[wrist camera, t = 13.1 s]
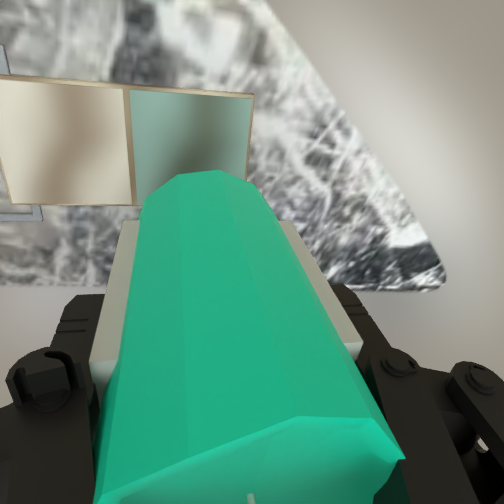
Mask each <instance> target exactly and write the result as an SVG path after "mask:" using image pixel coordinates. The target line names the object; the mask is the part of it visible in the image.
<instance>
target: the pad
mask: <svg viewBox="0 0 504 504" xmlns="http://www.w3.org/2000/svg"><path fill="white" fill-rule="evenodd" d="M0 74H5V75H10V72H9V67H8V63H7V58H6V54H5V50H4V45H0ZM31 208H32V212H33V213H0V221H43V217H42V213H41V208H40V205H31Z"/></svg>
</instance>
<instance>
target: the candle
mask: <svg viewBox="0 0 504 504" xmlns="http://www.w3.org/2000/svg"><path fill="white" fill-rule="evenodd" d="M137 220H140V224H139V230H138V236H137V243H136V249H135V255H134V261H133V268H132V274H131V280H130V287H129V293H128V299H127V305H126V312H125V318H124V324H123V330H122V337H121V343H120V349H119V356H118V361H117V363H116V365H115V367H114V370H113V372H112V374H111V377H110V379H109V381H108V384H107V386H106V388H105V390H104V393H103V397H102V402H101V408H100V413H99V419H98V424H97V429H96V435H95V440H94V446H93V449H94V457H95V494H94V500H93V504H373V498H374V494H375V493H377V492H378V491H379V490H380V488H381V487H382V486H383V485H384V484H385V483H386V482H387V480H388V479H389V477H390V475H391V473H392V471H393V469H394V467H395V465H396V463H397V461H398V459H406V458H405V456H404V454H403V452H402V450H401V448H400V447H399V445H398V443H397V441H396V439H395V437H394V435H393V433H392V432H391V430H390V428H389V426H388V424H387V422H386V420H385V418H384V416H383V415H382V413H381V411H380V409H379V407H378V405H377V403H376V401H375V400H374V398H373V396H372V394H371V392H370V390H369V388H368V387H367V385H366V383H365V381H364V379H363V377H362V375H361V374H360V372H359V370H358V368H357V366H356V364H355V362H354V361H353V359H352V357H351V355H350V353H349V351H348V349H347V348H346V346H345V345H344V344H343V342H342V340H341V338H340V336H339V335H338V333H337V331H336V329H335V327H334V325H333V323H332V321H331V320H330V318H329V316H328V314H327V312H326V310H325V308H324V306H323V305H322V303H321V301H320V299H319V297H318V295H317V293H316V291H315V290H314V288H313V286H312V284H311V282H310V280H309V278H308V277H307V275H306V273H305V271H304V269H303V267H302V265H301V263H300V262H299V260H298V258H297V256H296V254H295V252H294V250H293V248H292V247H291V245H290V243H289V241H288V239H287V237H286V235H285V233H284V232H283V230H282V228H281V226H280V224H279V222H278V219H277V217H276V215H275V213H274V212H273V210H272V209H271V208H270V206H269V205H268V203H267V202H266V200H265V199H264V198H263V196H262V195H261V193H260V192H259V191H258V189H257V188H256V186H255V185H254V184H252V183H249V182H247V181H245V180H242V179H240V178H237V177H235V176H233V175H230V174H228V173H225V172H223V171H221V170H211V171H203V172H194V173H186V174H178V175H176V176H175V177H173V178H172V179H171V180H169V181H168V182H167V183H165V184H164V185H163V186H161V187H160V188H158V189H157V190H156V191H154V192H153V193H152V194H150V195H149V196H147V197H146V198H145V201H144V204H143V206H142V209H141V211H140V214H139V217H138V219H137Z"/></svg>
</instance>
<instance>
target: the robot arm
mask: <svg viewBox="0 0 504 504" xmlns="http://www.w3.org/2000/svg"><path fill="white" fill-rule="evenodd" d="M278 222H279V224H280V226H281V228H282V230H283V232H284V233H285V235H286V237H287V239H288V241H289V243H290V245H291V247H292V248H293V250H294V252H295V254H296V256H297V258H298V260H299V262H300V263H301V265H302V267H303V269H304V271H305V273H306V275H307V277H308V278H309V280H310V282H311V284H312V286H313V288H314V290H315V291H316V293H317V295H318V297H319V299H320V301H321V303H322V305H323V306H324V308H325V310H326V312H327V314H328V316H329V318H330V320H331V321H332V323H333V325H334V327H335V329H336V331H337V333H338V335H339V336H340V338H341V340H342V342H343V344H344V345H345V346H346V348H347V349H348V351H349V353H350V355H351V357H352V359H353V361H354V362H355V364H356V366H357V368H358V370H359V372H360V374H361V375H362V377H363V379H364V381H365V383H366V385H367V387H368V388H369V390H370V392H371V394H372V396H373V398H374V400H375V401H376V403H377V405H378V407H379V409H380V411H381V413H382V415H383V416H384V418H385V420H386V422H387V424H388V426H389V428H390V430H391V432H392V433H393V435H394V437H395V439H396V441H397V443H398V445H399V447H400V448H401V450H402V452H403V454H404V456H405V458H406V459H398V461H397V463H396V465H395V467H394V469H393V471H392V473H391V475H390V477H389V479H388V480H387V482H386V483H385V484H384V485H383V486H382V487H381V488H380V490H379V491H378V492H377V493H375V494H374V498H373V504H504V381H503V380H502V379H501V378H500V377H498V376H497V375H496V374H495V373H494V372H493V371H491V370H489V369H488V368H486V367H484V366H482V365H479V364H476V363H473V362H466V361H462V362H459V363H456V364H455V366H454V367H453V369H452V370H451V372H450V373H447V372H442V371H437V370H432V369H427V368H422V367H420V366H419V365H418V363H417V362H416V361H415V360H414V359H413V358H412V357H411V356H410V355H408V354H407V353H405V352H403V351H401V350H399V349H395V348H392V347H391V346H390V344H389V343H388V341H387V340H386V338H385V337H384V335H383V334H382V333H381V331H380V330H379V328H378V327H377V325H376V324H375V322H374V321H373V319H372V318H371V316H370V315H368V312H367V310H366V309H365V307H364V306H362V303H361V302H360V300H359V298H358V297H357V295H356V294H355V293H354V292H353V291H351V290H350V289H349V288H347V287H346V286H345V285H344V284H340V285H329V283H328V282H327V280H326V278H325V277H324V275H323V273H322V272H321V270H320V268H319V267H318V265H317V263H316V262H315V260H314V258H313V257H312V255H311V253H310V252H309V250H308V248H307V247H306V245H305V243H304V242H303V240H302V238H301V237H300V235H299V233H298V232H297V230H296V228H295V227H294V225H293V223H292V222H291V221H278ZM139 224H140V220H123V223H122V228H121V232H120V236H119V240H118V244H117V248H116V252H115V256H114V260H113V264H112V269H111V273H110V277H109V281H108V285H107V289H106V293H105V294H88V295H76V296H75V297H74V298H73V299H72V300H71V301H70V302H69V303H68V304H67V305H66V306H65V308H64V311H63V313H62V316H61V319H60V323H59V324H58V327H57V329H56V334H55V335H54V337H53V340H52V343H51V345H50V347H44V348H41V349H39V350H36V351H33V352H30V353H29V354H27V355H26V356H24V357H22V358H21V359H19V360H18V361H17V362H16V363H15V364H14V365H13V366H12V368H11V369H10V370H9V372H8V375H7V377H6V380H5V381H6V383H7V386H8V389H9V391H10V394H11V396H12V399H13V401H14V402H13V403H11V404H10V405H7V406H5V407H2V408H0V504H93V500H94V494H95V457H94V449H93V446H94V440H95V435H96V429H97V424H98V419H99V413H100V408H101V402H102V397H103V393H104V390H105V388H106V386H107V384H108V381H109V379H110V377H111V374H112V372H113V370H114V367H115V365H116V363H117V361H118V356H119V349H120V343H121V337H122V330H123V324H124V318H125V312H126V305H127V299H128V293H129V287H130V280H131V274H132V268H133V261H134V255H135V249H136V243H137V236H138V230H139ZM480 438H481V439H482V440H483V442H484V443H485V444H486V446H487V447H488V448H489V449H488V451H486V450H484V449H483V448H482V447H481V446H480V445H479V444H478V440H479V439H480Z"/></svg>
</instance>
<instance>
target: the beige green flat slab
mask: <svg viewBox="0 0 504 504" xmlns="http://www.w3.org/2000/svg"><path fill="white" fill-rule="evenodd" d="M253 106H254V95H253V94H250V93H238V92H225V91H212V90H200V89H187V88H175V87H162V86H150V85H137V84H125V83H112V82H100V81H87V80H74V79H62V78H49V77H37V76H24V75H12V74H10V75H5V74H0V165H1V169H2V173H3V176H4V180H5V184H6V187H7V191H8V195H9V199H10V202H11V205H95V206H143V204H144V201H145V198H146V197H147V196H149V195H150V194H152V193H153V192H154V191H156V190H157V189H158V188H160V187H161V186H163V185H164V184H165V183H167V182H168V181H169V180H171V179H172V178H173V177H175V176H176V175H178V174H186V173H194V172H203V171H211V170H221V171H223V172H225V173H228V174H230V175H233V176H235V177H237V178H240V179H242V180H245V181H246V179H247V168H248V158H249V148H250V137H251V127H252V116H253Z"/></svg>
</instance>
